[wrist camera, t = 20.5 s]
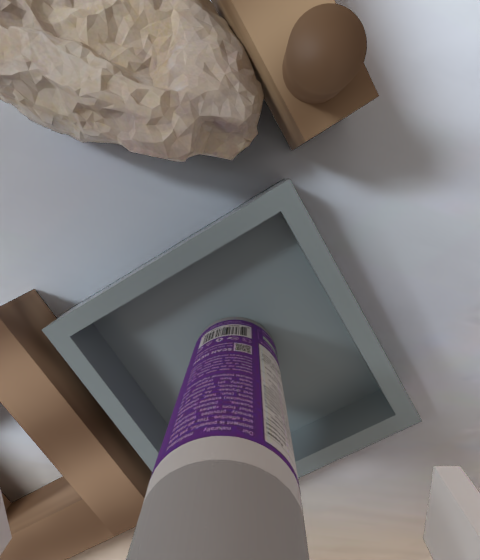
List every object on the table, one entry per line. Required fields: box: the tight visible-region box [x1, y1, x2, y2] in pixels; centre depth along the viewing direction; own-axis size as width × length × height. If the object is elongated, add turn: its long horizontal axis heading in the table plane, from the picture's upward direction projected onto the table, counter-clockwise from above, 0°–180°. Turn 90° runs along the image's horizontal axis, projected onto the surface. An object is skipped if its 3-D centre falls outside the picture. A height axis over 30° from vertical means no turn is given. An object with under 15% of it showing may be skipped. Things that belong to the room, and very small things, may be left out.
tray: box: [42, 179, 422, 478], centre depth 20 cm, size 14×14×3 cm
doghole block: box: [0, 289, 152, 560], centre depth 22 cm, size 14×14×4 cm
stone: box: [0, 0, 264, 162], centre depth 15 cm, size 8×12×10 cm, turn 71°
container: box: [126, 317, 309, 560], centre depth 14 cm, size 5×5×15 cm
